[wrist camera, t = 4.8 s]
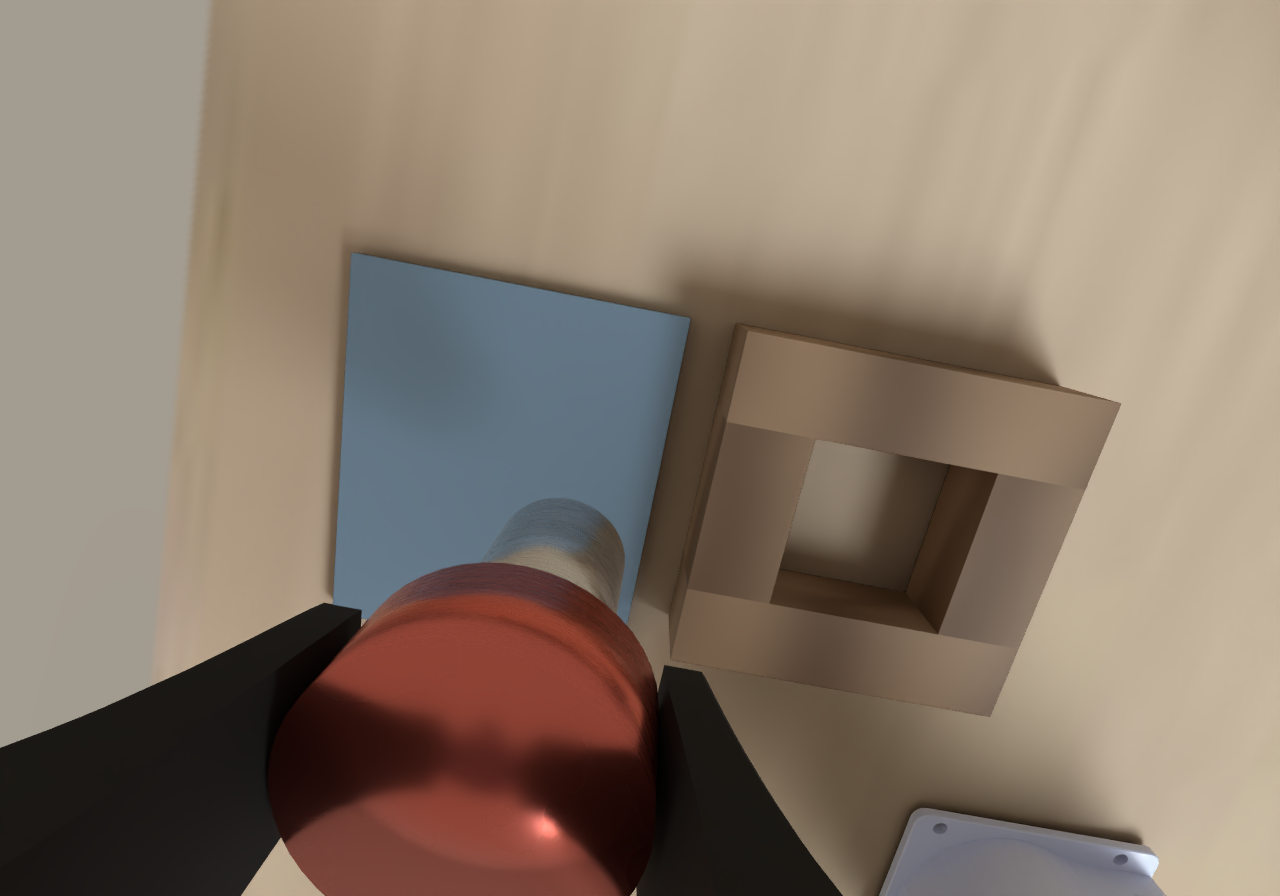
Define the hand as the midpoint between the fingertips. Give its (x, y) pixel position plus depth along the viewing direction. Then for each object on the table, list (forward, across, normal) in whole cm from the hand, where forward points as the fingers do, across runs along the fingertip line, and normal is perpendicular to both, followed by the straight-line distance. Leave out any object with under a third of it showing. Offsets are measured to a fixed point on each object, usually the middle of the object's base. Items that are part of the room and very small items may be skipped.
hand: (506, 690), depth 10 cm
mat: (+10, +3, 0) cm, 11 cm away
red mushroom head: (+5, 0, 0) cm, 5 cm away
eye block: (+10, -9, -1) cm, 14 cm away
